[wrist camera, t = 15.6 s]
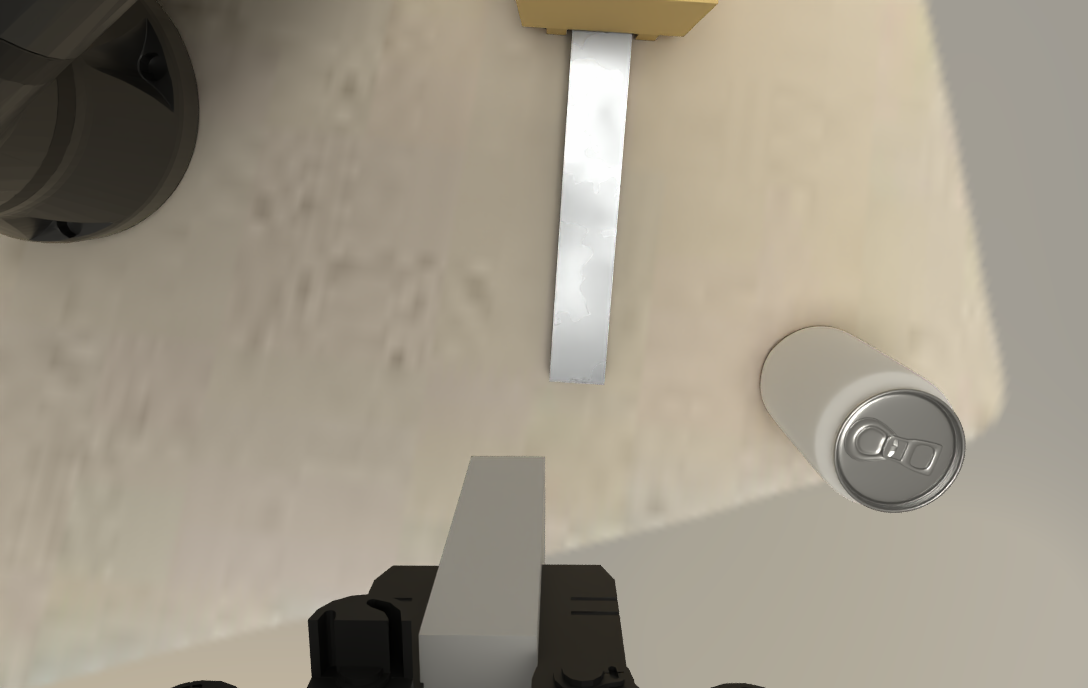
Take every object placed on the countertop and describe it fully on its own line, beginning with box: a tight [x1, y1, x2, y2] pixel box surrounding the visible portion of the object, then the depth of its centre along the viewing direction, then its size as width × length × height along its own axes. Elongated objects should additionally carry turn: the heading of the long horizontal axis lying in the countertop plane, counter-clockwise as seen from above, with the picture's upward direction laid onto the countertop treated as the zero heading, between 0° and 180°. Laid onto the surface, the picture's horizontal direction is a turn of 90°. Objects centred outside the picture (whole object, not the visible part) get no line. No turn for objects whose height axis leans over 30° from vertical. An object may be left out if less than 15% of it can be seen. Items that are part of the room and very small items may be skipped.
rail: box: [549, 30, 633, 385], centre depth 44 cm, size 26×3×2 cm, turn 176°
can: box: [760, 326, 965, 513], centre depth 42 cm, size 6×6×12 cm
